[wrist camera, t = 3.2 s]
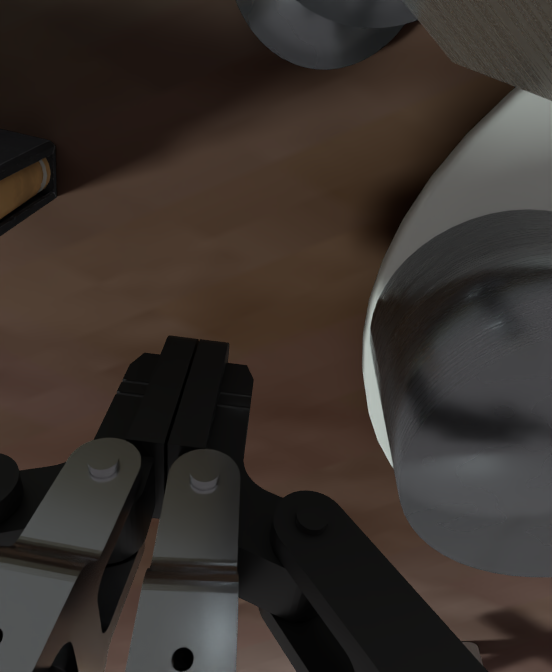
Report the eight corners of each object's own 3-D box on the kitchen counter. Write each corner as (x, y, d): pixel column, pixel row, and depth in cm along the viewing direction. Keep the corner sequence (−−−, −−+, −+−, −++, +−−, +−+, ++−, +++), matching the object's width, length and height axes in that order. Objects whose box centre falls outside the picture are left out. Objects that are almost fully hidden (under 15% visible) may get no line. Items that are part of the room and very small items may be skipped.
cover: (686, 229, 14) (898, 354, 9) (561, 432, 18) (656, 592, 13) (406, 191, 14) (464, 297, 9) (347, 406, 18) (364, 558, 13)
